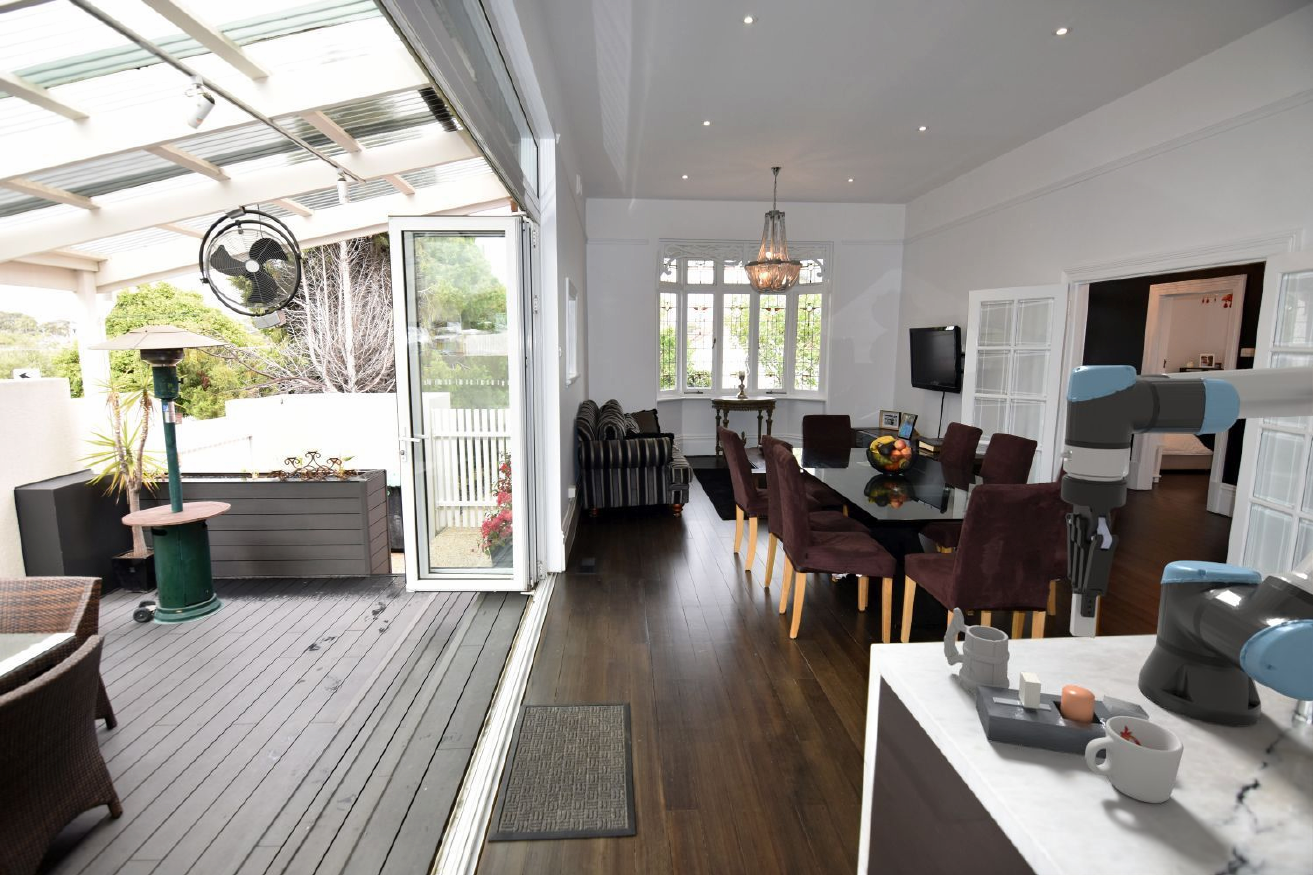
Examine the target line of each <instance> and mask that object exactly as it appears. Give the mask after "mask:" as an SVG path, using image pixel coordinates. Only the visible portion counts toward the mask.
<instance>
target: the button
mask: <svg viewBox="0 0 1313 875" xmlns="http://www.w3.org/2000/svg"><path fill="white" fill-rule="evenodd" d="M1061 696H1062V698H1061V710H1060V715H1061V716H1062V718H1063V719H1068V720H1075V721H1082V722H1089V723H1093V713H1094V702H1095V700H1096V696H1095V694H1094V693H1093V692H1092V691H1091V690H1089V689H1086V688H1084V687H1081V686H1078V685H1072V684H1071V685H1064V686H1062V690H1061Z"/></svg>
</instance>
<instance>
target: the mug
mask: <svg viewBox="0 0 1313 875" xmlns="http://www.w3.org/2000/svg"><path fill="white" fill-rule="evenodd" d="M964 621H965V619H964V615H963V612H962V610H961V609H960V608H959V607H956V608H954V609H953V613H952V618H951V619H950V622H949V625H948V627H947V630H946V632H945V635H944V637H943V652H944V657H945V658H946V660H947V663H948V665H949V666H954V665H956V664H957V663H958V664H959V663H961V668H960V669H959V671H958V676H959V679H960V686H961V687H962V689H964V690H965V692H970V693H971V694H972V695H974V696H975V697H977V684H978V685H986V686H993V687H1001V688H1008V689H1010V680H1009V679H1010V678H1008V671H1009V670H1008V666H1009V665H1008V664H1009V660H1010V651H1009V636H1008V634H1006V632H1004V631H1003V630H999V629H998V628H995V627H991V626H987V625H977V624H975V625H971V626H969V625H966V624H965V622H964ZM960 632H963V633H965V637H964V642H963V643H962V648H961V649H962V652H963V653H960V651H959V650H958V648H957V646H956V637H957V635H958V634H959V633H960Z"/></svg>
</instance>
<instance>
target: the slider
mask: <svg viewBox="0 0 1313 875" xmlns="http://www.w3.org/2000/svg"><path fill="white" fill-rule="evenodd" d="M1041 689H1042V682H1041V681H1040V679H1039V678H1038V676H1037V674H1036V673H1033V672H1026V671H1020V674H1019V687H1018V690H1019V698H1020V700H1021V702H1022V704H1023V706H1024V707H1030V708H1037V709H1039V704H1040V693H1042V690H1041Z"/></svg>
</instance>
